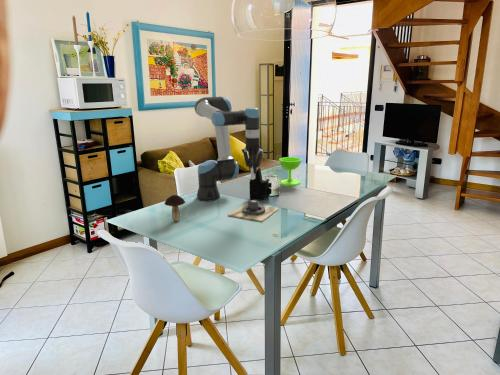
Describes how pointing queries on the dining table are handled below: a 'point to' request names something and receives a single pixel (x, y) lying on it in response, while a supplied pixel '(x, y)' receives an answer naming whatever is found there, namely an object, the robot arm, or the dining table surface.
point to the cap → (253, 205)
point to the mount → (253, 213)
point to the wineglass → (290, 164)
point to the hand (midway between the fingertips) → (253, 178)
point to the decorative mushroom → (175, 206)
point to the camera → (259, 187)
